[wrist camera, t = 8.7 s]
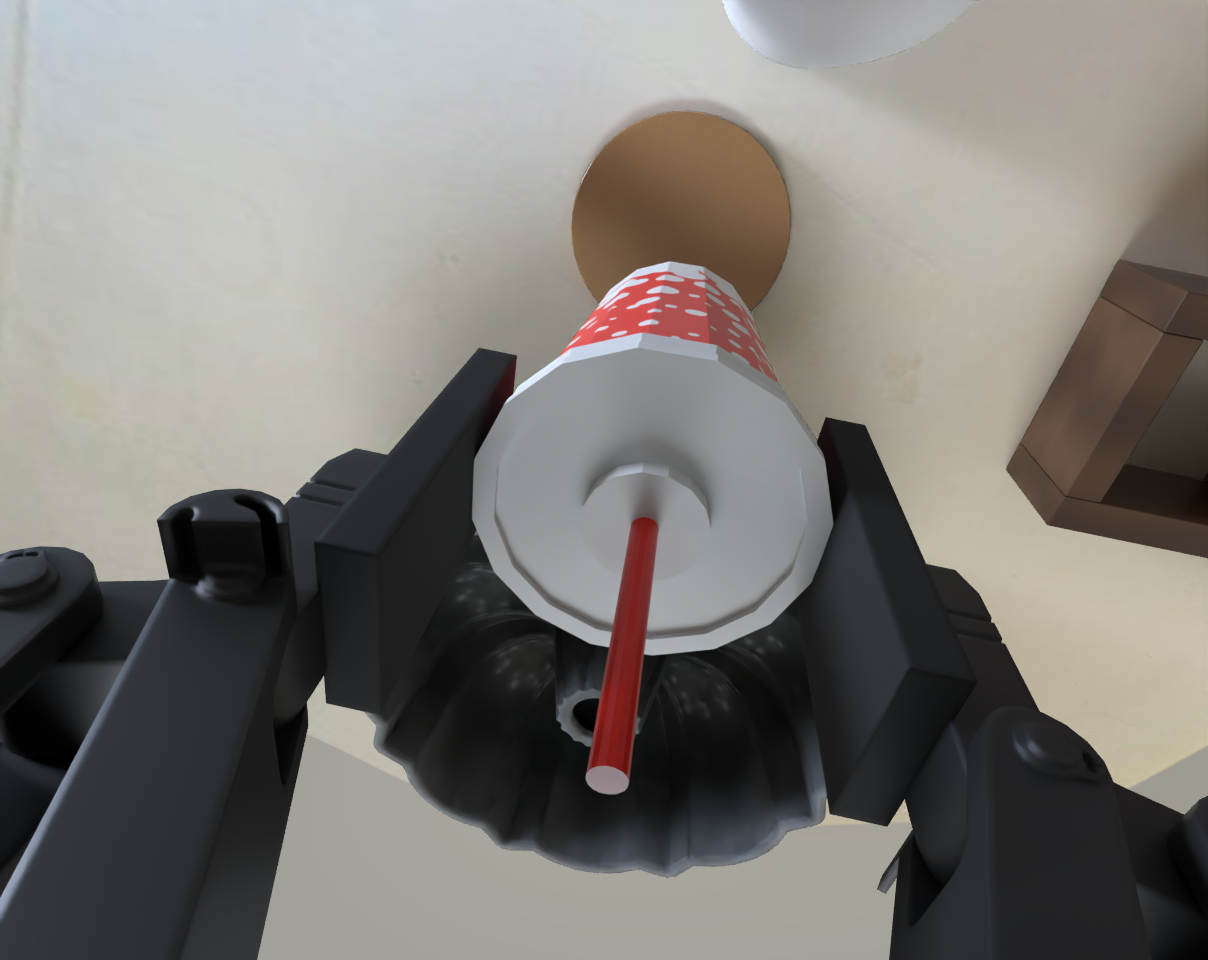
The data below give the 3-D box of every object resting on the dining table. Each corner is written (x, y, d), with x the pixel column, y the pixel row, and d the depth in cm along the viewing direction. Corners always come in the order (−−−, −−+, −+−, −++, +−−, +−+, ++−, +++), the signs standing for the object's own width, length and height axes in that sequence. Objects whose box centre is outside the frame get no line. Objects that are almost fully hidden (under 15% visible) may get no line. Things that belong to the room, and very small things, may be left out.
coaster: (589, 90, 30) (587, 91, 29) (819, 134, 29) (821, 134, 29) (560, 315, 35) (558, 317, 35) (756, 354, 35) (756, 357, 34)
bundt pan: (401, 373, 38) (310, 460, 29) (895, 435, 36) (952, 548, 27) (428, 707, 51) (370, 833, 43) (787, 765, 49) (803, 911, 41)
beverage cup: (553, 236, 18) (253, 538, 6) (791, 225, 17) (968, 555, 5) (574, 443, 21) (398, 911, 9) (777, 443, 20) (871, 961, 8)
